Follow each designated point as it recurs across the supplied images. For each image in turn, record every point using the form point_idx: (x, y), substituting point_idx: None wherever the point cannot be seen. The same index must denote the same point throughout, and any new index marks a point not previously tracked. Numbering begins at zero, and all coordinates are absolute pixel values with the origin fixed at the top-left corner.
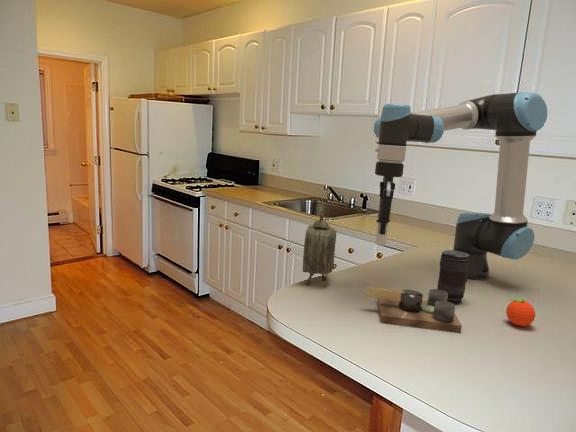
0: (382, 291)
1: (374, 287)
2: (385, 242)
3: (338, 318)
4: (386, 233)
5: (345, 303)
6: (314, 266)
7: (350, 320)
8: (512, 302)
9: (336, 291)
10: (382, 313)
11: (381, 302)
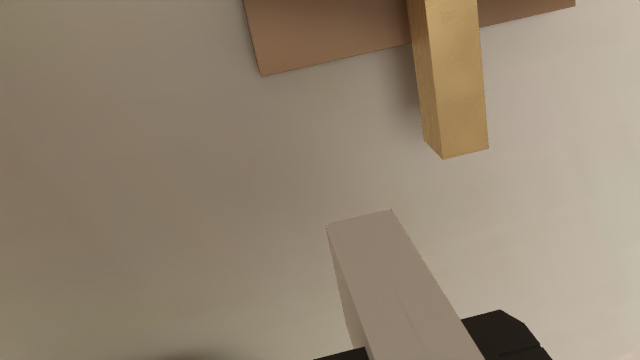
0: (477, 49)
1: (441, 111)
2: (403, 232)
3: (568, 194)
4: (448, 304)
5: None
6: None
7: (572, 142)
8: None
9: (230, 301)
10: (545, 5)
11: (382, 38)
